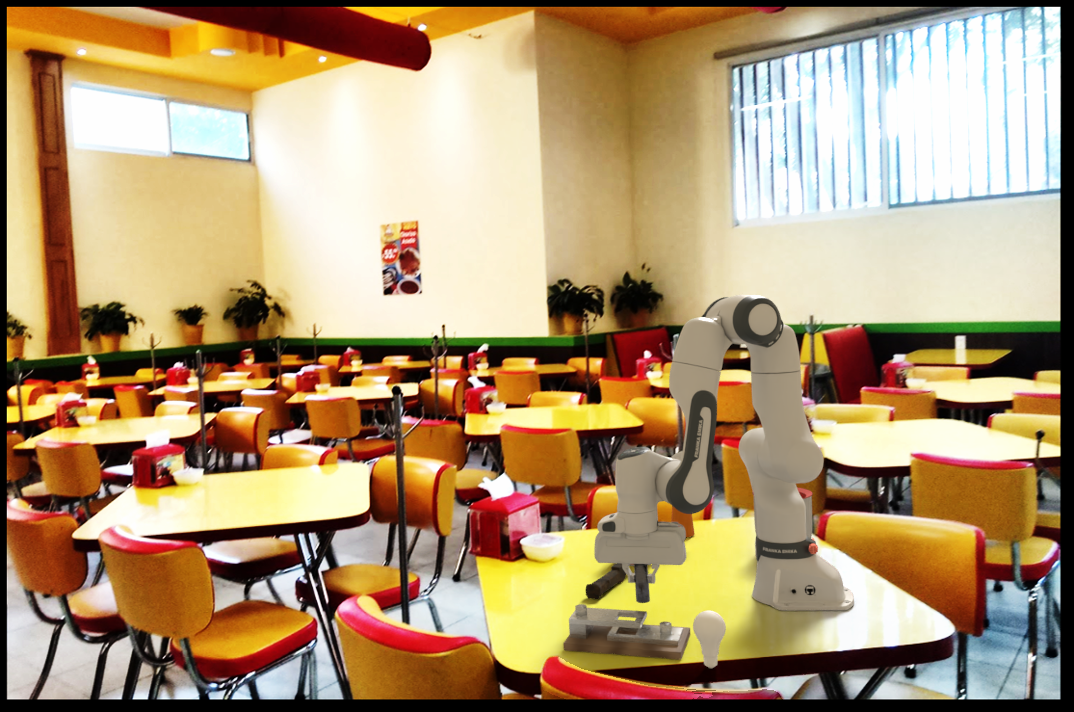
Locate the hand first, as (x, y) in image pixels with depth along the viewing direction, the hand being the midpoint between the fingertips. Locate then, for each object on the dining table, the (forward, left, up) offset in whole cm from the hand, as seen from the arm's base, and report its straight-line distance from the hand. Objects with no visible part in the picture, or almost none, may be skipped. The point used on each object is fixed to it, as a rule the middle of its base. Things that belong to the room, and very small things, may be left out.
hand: (641, 582), depth 192 cm
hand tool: (+13, -19, -8) cm, 24 cm away
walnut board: (+1, +14, -8) cm, 16 cm away
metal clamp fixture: (+1, +14, -7) cm, 16 cm away
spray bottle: (0, -67, -8) cm, 67 cm away
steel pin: (0, 0, -4) cm, 4 cm away
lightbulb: (-17, +23, -8) cm, 30 cm away
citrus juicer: (-28, -52, -8) cm, 60 cm away
